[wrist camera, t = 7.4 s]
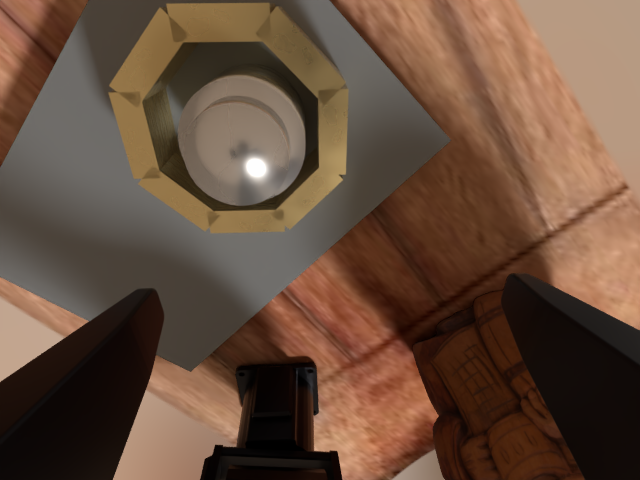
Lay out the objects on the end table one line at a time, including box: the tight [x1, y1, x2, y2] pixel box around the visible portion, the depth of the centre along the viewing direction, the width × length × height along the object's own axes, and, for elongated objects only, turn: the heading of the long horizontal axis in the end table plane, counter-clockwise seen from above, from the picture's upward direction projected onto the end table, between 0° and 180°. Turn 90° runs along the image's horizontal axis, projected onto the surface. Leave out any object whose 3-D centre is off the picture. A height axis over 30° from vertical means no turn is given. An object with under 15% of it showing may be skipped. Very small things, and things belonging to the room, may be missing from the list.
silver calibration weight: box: [178, 64, 305, 206], centre depth 16 cm, size 5×5×6 cm
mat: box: [0, 0, 451, 372], centre depth 21 cm, size 24×16×2 cm, turn 136°
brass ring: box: [108, 3, 349, 233], centre depth 17 cm, size 9×9×3 cm
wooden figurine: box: [413, 290, 585, 480], centre depth 21 cm, size 12×6×18 cm, turn 132°
